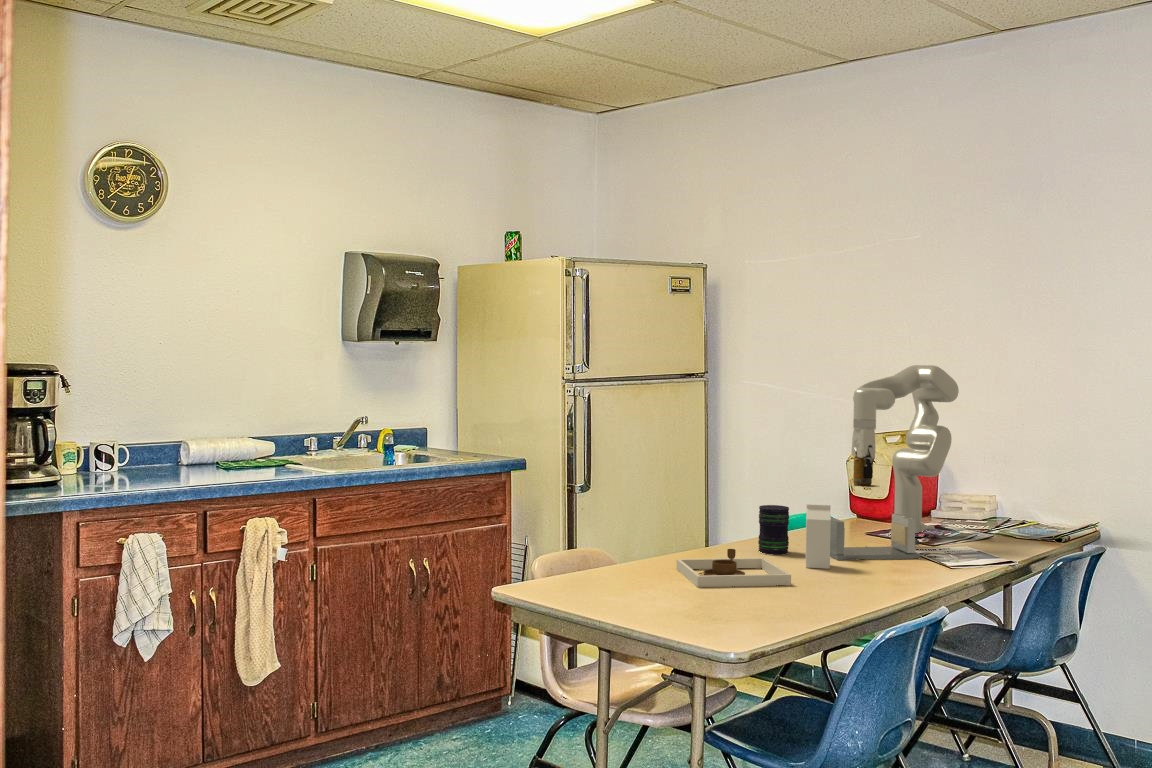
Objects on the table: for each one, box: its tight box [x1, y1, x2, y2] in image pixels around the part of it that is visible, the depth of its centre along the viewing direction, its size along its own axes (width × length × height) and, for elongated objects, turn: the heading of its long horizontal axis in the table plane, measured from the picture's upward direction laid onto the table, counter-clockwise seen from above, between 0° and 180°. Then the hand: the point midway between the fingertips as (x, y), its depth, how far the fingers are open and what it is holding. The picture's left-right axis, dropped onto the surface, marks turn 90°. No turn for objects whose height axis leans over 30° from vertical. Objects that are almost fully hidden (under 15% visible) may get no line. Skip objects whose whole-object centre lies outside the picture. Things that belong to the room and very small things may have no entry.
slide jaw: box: [890, 513, 920, 553], centre depth 346 cm, size 7×12×11 cm, turn 8°
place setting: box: [698, 548, 746, 576], centre depth 308 cm, size 18×20×6 cm
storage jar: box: [757, 504, 790, 556], centre depth 348 cm, size 10×10×15 cm
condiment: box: [849, 452, 880, 488], centre depth 363 cm, size 7×8×12 cm
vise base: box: [830, 516, 922, 561], centre depth 344 cm, size 28×14×12 cm, turn 98°
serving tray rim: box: [676, 557, 792, 588], centre depth 308 cm, size 27×25×3 cm
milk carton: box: [805, 504, 832, 570], centre depth 325 cm, size 7×7×19 cm
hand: (863, 476), depth 364 cm, fingers closed on condiment, 6 cm apart
